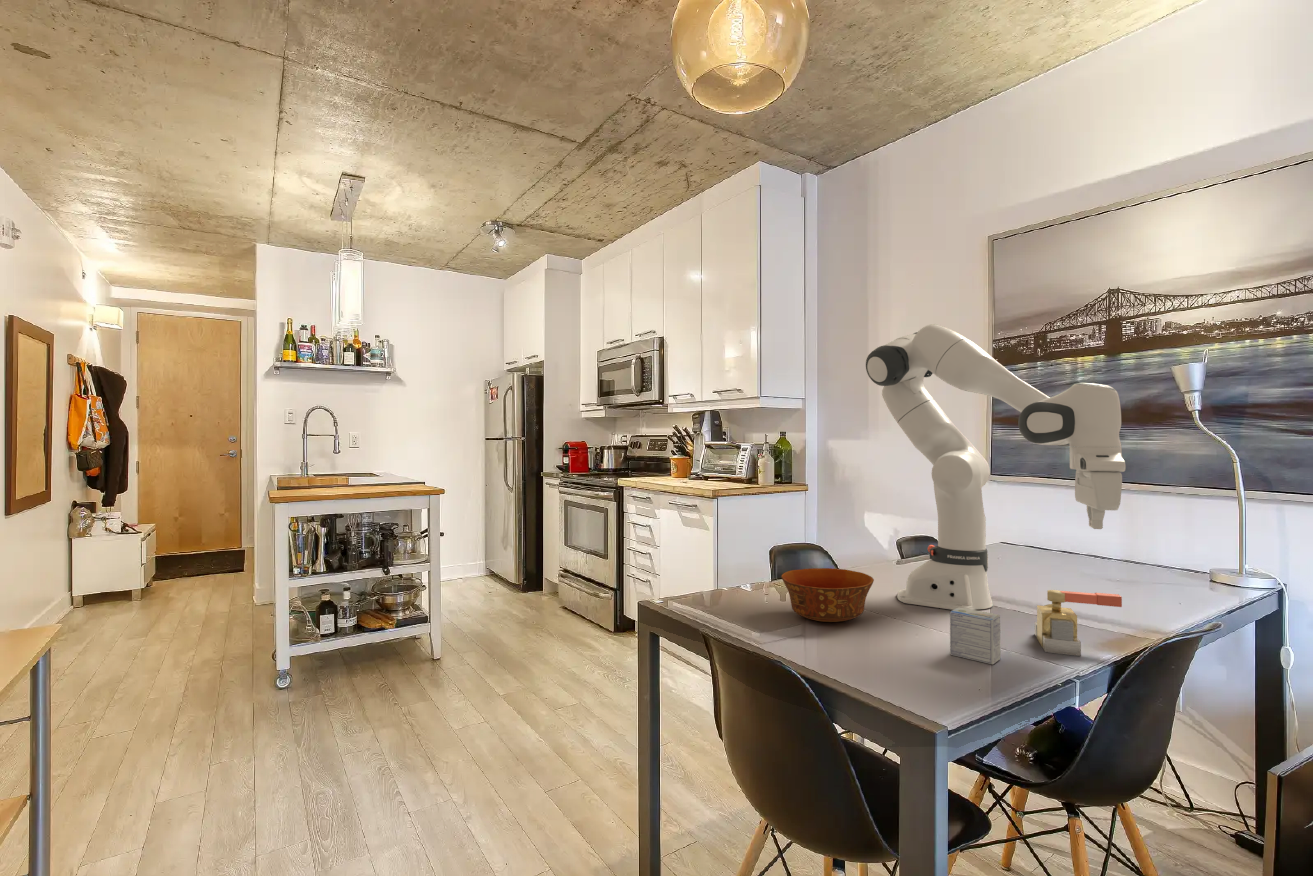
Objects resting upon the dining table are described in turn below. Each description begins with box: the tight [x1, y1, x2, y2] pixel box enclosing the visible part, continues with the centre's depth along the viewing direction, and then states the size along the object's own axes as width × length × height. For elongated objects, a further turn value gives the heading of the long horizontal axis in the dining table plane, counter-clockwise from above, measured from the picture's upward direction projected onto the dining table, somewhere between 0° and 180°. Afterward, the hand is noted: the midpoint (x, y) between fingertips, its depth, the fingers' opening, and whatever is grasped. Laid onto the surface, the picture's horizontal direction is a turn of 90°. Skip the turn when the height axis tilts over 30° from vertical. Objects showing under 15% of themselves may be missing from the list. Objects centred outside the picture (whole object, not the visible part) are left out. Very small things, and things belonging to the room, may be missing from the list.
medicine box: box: [949, 608, 1002, 665], centre depth 122 cm, size 8×4×9 cm, turn 44°
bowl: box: [780, 567, 875, 623], centre depth 148 cm, size 21×21×10 cm
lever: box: [1046, 589, 1123, 608], centre depth 127 cm, size 12×3×2 cm, turn 67°
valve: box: [1034, 601, 1082, 657], centre depth 129 cm, size 12×6×9 cm, turn 157°
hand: (1095, 528), depth 130 cm, fingers closed
